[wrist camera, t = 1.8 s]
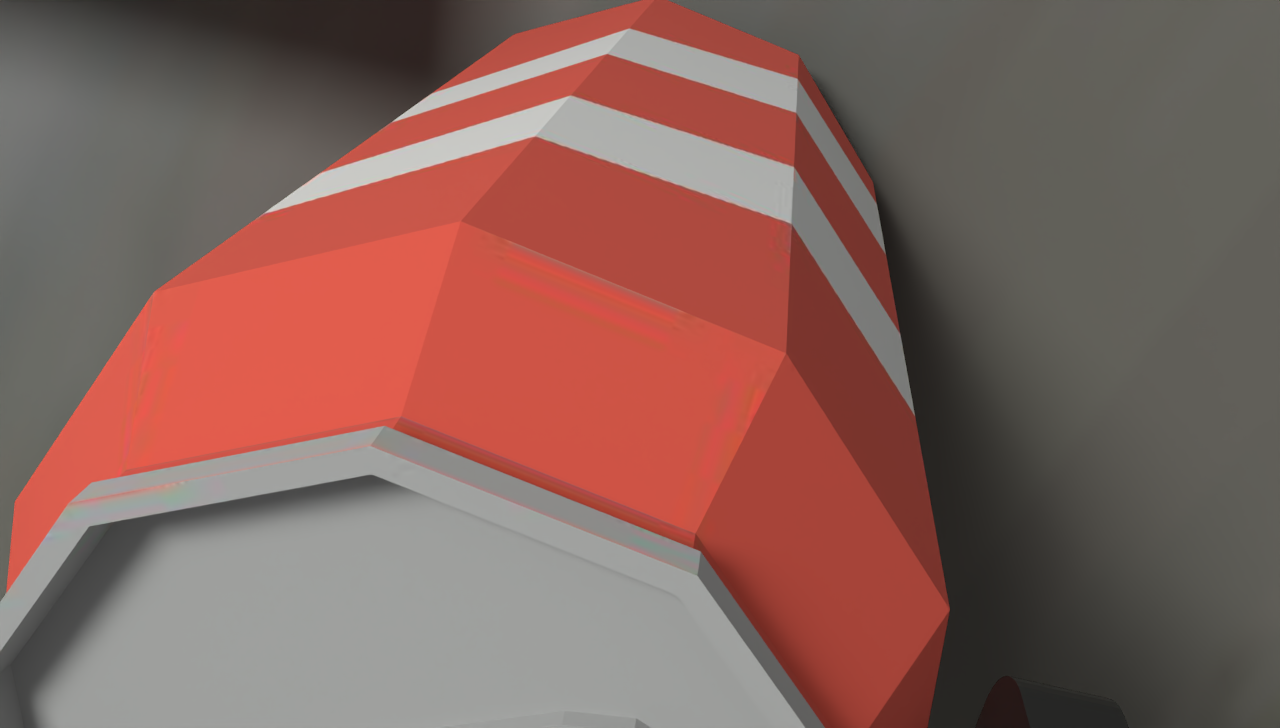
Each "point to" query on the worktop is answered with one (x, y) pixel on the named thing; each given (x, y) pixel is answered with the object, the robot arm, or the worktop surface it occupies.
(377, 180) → the beverage can
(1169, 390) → the worktop surface
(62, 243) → the worktop surface
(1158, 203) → the worktop surface
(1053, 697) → the robot arm
